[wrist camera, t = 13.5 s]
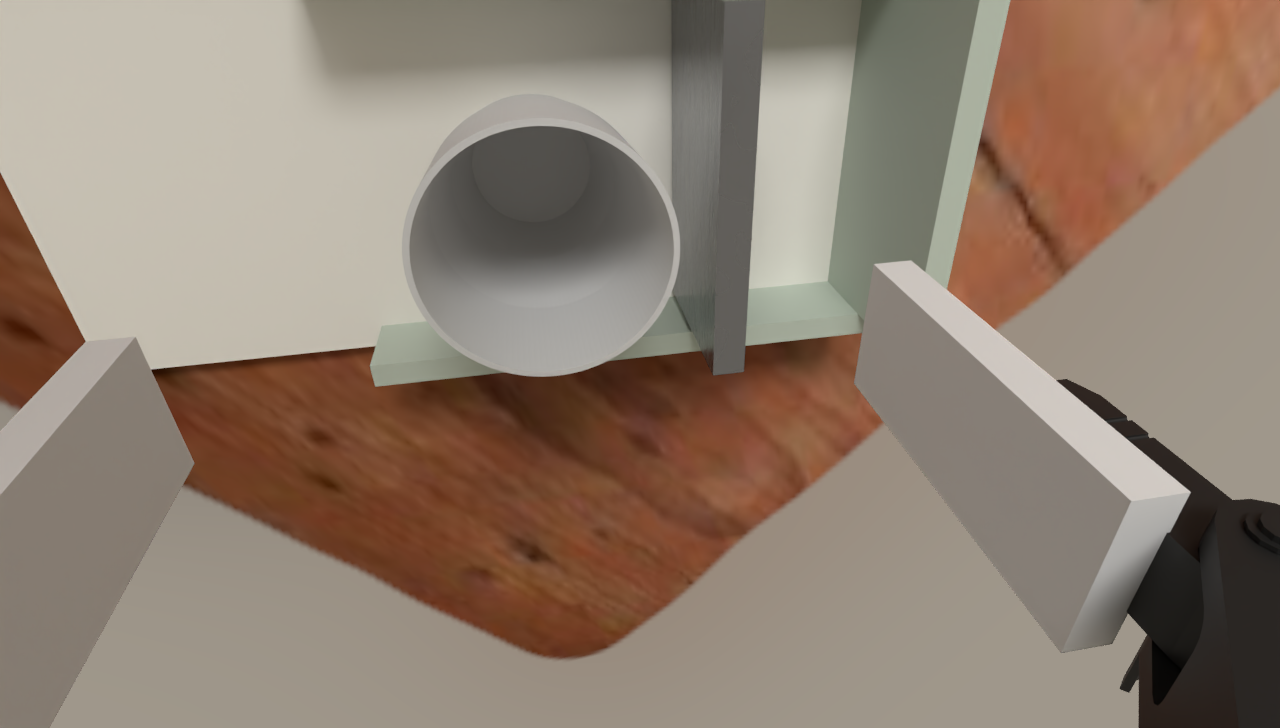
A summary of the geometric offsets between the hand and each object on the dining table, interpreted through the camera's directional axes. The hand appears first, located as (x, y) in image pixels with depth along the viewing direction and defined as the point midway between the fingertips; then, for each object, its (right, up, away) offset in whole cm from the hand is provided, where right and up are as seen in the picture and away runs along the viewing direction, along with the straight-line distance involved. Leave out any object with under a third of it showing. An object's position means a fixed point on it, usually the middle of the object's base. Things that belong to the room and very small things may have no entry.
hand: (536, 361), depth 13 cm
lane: (-5, +8, +16) cm, 19 cm away
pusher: (+4, +9, +17) cm, 19 cm away
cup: (-3, +8, +16) cm, 18 cm away
